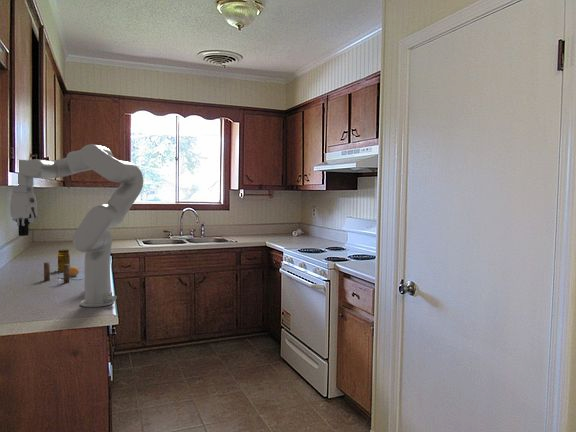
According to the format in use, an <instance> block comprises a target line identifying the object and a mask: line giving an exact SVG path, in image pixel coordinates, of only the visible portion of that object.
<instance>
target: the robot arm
mask: <svg viewBox="0 0 576 432" xmlns="http://www.w3.org/2000/svg"><path fill="white" fill-rule="evenodd" d="M18 160H19V173H18V184H19V185H18V186H12V185H11V195H10V204H9V205H10V206H9V207H10V208H9V211H10V217H11V218H12V221H14V222H16V226H17V227H18V236H19V237H24V236H29V226H30V224H31V223H32V222H33V223H34V221H35V219H36V218H37V217H38V213H39V212H38V202H37V198H36V194H34V192H35V191H34V190H35V188H34V187H35V186H34V183H35V182H34V179H50V180H52V179H57V178H58V179H59V178H64V177H68V176H72V175H75V174H77V173H81V172H87V171H94V172H95V173H97V174H98V175H100V176H101V177H102V178H104V179H106V180H107V181H110V182H113V183H119V184H120V185H118V187H117V188H116V189H115V190H114V192H113V193H112V195H111V196H110V198H109V199H108V200H107V202H106V203H104V204H97V205H95V206H93V207H92V208H91V209H90V210H89V211H88V212H87V213H86V214H85V216H84V217H83V219H82V221H81V222H80V224H79V225H78V226H77V228H76V230H75V232H74V234H73V236H72V245H73V247H74V248H75V250H76V251H79V252H81V253H85V254H84V266H83V271H84V273H83V274H84V277H85V279H84V299H82V300H81V301H80V303H79V305H80V306H81V307H86V308H100V307H106V306H109V305H112V304H114V303H115V302H116V300H117V299H118V296H117V295H113V292H112V291H111V249H112V245H113V244H112V243H113V236H112V233H111V231H110V230H109V229H113V228H116V227H118V226H120V225H121V223H122V221H124V218H125V217H126V215H127V214H128V212H129V211H130V209H131V208H132V206H133V205H134V203H135V202H136V200H137V198H138V197H139V195H140V194H141V192H142V191H143V190H142V189H143V187H144V176H143V173H142V170H141V169H140V168H139V167H138V166H137V165H136V164H135V163H134V162H130V161H125V160H119V159H117V158H116V157H114V155H113V153H112V150H110V149H109V147H108V148H107V147H106V146H105V145H104V146H102V145H98V144H93V143H92V144H91V143H90V144H87V145H84V146H83V147H81V149H79V150H73V151H69V152H68V153H67V155H66V157H63V158H59V159H54V160H47V159H36V158H34V159H18Z"/></svg>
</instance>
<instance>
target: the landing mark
mask: <svg viewBox="0 0 576 432" xmlns="http://www.w3.org/2000/svg"><path fill="white" fill-rule="evenodd" d="M56 278H57V279H63V275H62V276H59V277H56ZM69 280H74V281H81V280H85V277H84V273H78V275H77V276H75V277H71V276H69Z"/></svg>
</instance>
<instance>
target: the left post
mask: <svg viewBox="0 0 576 432" xmlns="http://www.w3.org/2000/svg"><path fill="white" fill-rule="evenodd" d="M50 267H51V264H50V262H48V261H47V262H43V282H50V281H51V277H50V276H51V275H50V273H51V271H50V270H51V268H50Z"/></svg>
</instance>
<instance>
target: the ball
mask: <svg viewBox="0 0 576 432" xmlns="http://www.w3.org/2000/svg"><path fill="white" fill-rule="evenodd" d="M79 272H80V270H79V268H78V267H77V266H74V265H72V266H70V268H69V276H71V277H75V276H77V275H78V273H79Z"/></svg>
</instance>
